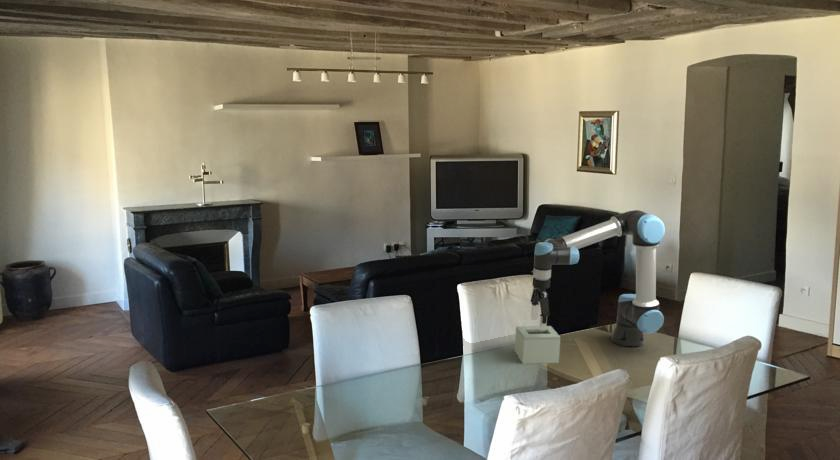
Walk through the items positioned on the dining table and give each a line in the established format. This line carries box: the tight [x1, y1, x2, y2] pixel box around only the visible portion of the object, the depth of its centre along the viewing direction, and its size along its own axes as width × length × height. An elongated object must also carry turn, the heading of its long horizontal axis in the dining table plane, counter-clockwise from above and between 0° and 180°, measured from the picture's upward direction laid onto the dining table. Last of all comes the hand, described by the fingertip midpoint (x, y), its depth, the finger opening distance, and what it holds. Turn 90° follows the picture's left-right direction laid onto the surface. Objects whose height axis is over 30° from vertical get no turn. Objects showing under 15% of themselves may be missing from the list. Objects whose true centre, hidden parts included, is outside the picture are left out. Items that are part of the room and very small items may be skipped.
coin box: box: [514, 325, 561, 365], centre depth 318 cm, size 16×14×12 cm
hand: (538, 324), depth 316 cm, fingers open, 13 cm apart
